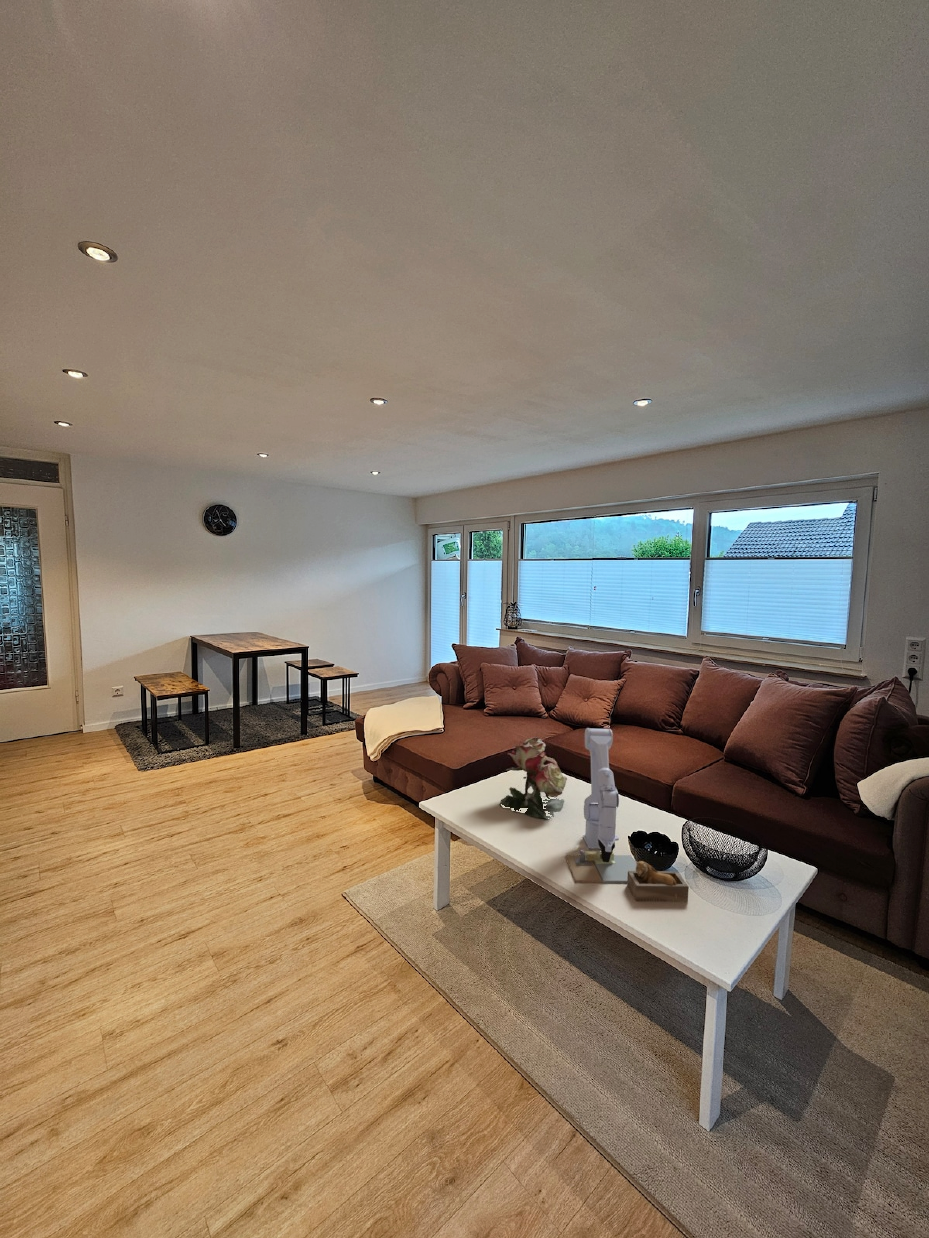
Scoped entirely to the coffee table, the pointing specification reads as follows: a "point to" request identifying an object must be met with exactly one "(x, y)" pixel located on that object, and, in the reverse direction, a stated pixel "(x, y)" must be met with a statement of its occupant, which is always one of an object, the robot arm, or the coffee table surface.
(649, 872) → the lion figurine
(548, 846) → the coffee table surface
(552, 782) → the rose bouquet
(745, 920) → the coffee table surface
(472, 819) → the coffee table surface
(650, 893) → the display tray
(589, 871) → the door board
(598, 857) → the latch bar
